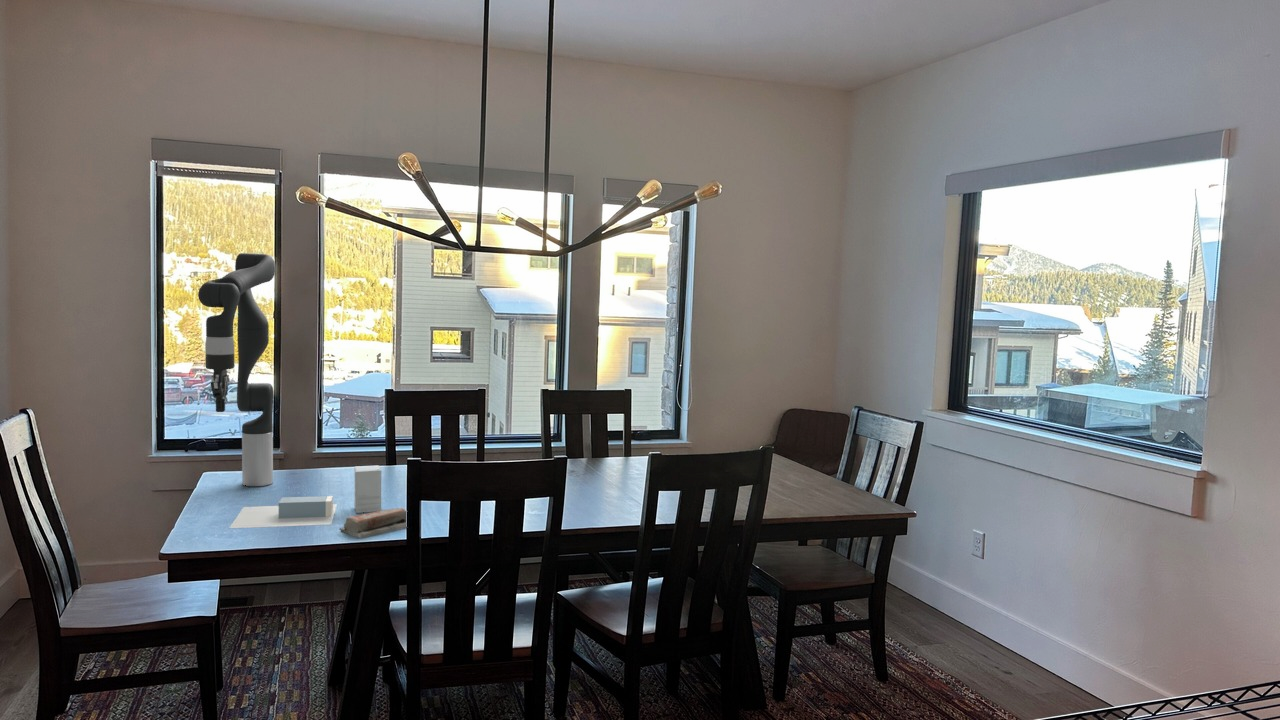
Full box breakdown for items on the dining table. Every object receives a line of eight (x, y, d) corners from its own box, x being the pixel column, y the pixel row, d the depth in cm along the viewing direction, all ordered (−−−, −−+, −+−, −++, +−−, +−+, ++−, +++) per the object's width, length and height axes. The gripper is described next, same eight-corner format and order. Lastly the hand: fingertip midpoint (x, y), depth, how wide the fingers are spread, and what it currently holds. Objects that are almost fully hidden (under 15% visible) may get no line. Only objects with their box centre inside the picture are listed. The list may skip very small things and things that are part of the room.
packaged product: (360, 522, 224) (339, 515, 230) (360, 540, 224) (339, 532, 230) (416, 509, 238) (395, 503, 244) (416, 526, 238) (395, 519, 244)
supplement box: (379, 505, 257) (380, 464, 256) (381, 512, 250) (381, 470, 249) (354, 507, 254) (354, 465, 253) (355, 513, 247) (355, 471, 246)
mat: (243, 508, 248) (243, 507, 248) (337, 505, 256) (337, 503, 255) (228, 529, 227) (228, 528, 227) (331, 525, 234) (331, 524, 234)
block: (281, 497, 243) (333, 496, 247) (281, 512, 244) (332, 511, 248) (278, 502, 238) (331, 501, 241) (278, 518, 238) (331, 516, 242)
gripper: (229, 354, 238) (229, 415, 240) (238, 350, 251) (239, 407, 253) (200, 354, 236) (200, 415, 238) (211, 349, 249) (211, 407, 251)
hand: (220, 411), depth 245 cm, fingers closed
